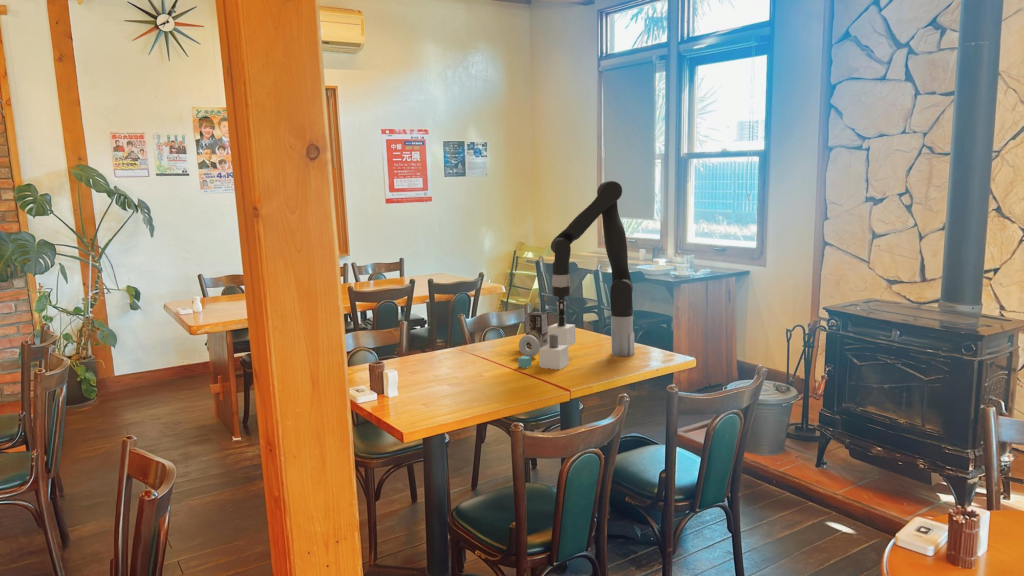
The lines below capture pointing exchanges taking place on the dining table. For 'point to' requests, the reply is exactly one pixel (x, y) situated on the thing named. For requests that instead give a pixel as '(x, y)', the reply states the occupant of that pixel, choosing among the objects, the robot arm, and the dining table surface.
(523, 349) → the donut
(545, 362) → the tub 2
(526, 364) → the cube
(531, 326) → the grey mechanical block
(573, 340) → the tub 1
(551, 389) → the dining table surface
